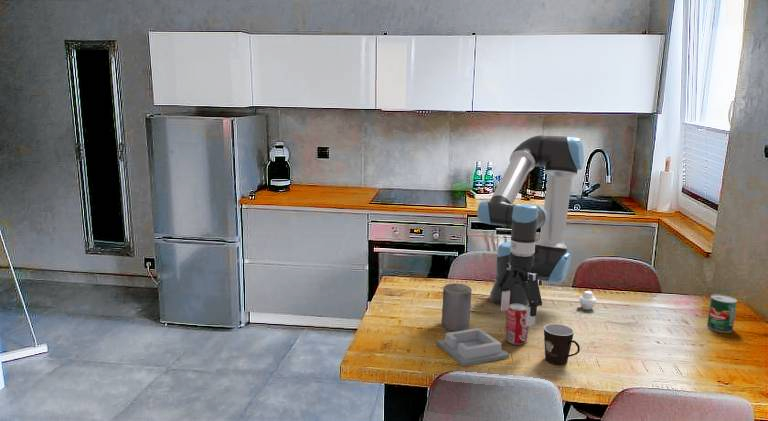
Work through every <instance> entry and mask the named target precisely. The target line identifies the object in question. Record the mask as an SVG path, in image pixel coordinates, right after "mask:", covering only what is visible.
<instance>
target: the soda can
mask: <svg viewBox="0 0 768 421" xmlns="http://www.w3.org/2000/svg"><path fill="white" fill-rule="evenodd" d="M527 306H528V305H523V304H518V303H514V304H510V305H509V308H508V310H506V317H505V318H506V319H505V332H504V335H505V337H504V338H505V340H506V341H507V342H508V343H509V344H512V345H515V346H517V345H519V346H520V345H523V344H525V343H526V342H527V341H528V336H529V335H528V333H529V326H526V319H527Z"/></svg>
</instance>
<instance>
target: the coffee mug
mask: <svg viewBox="0 0 768 421" xmlns="http://www.w3.org/2000/svg"><path fill="white" fill-rule="evenodd" d="M574 333H575V330H574V329H573V328H572V327H570V326H568V325H565V324H560V323H548V324H546V325H544V326H543V336H544V337H543V340H544V359H545V361H546V362H547V363H548V364H550V365H553V366H565V365H567V364H568V361H569V360H568V359H569V357H573V356H574V357H575V356H576V355H578V354H579V353H580V351H581V349H580V348H581V347H580V344H579V343H578V342H577V341H576V340H573V338H574ZM573 343H574V344H575V346H576V348H577V350H576V352H574V353H570V352H571V348H572V344H573Z"/></svg>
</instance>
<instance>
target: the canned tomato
mask: <svg viewBox="0 0 768 421" xmlns="http://www.w3.org/2000/svg"><path fill="white" fill-rule="evenodd" d="M709 300H710V303H709V309H708V314H707V324H706V327H707V328H708V329H710V330H712V331H715V332H719V333H723V334H724V333H726V334H727V333H728V334H729V333H732V332H733V330H734V325H735V318H736V313H737V312H736V311H737V304H738V300H737V299H736V298H735V297H733V296H729V295H725V294H718V293H717V294H711V296H710V299H709Z"/></svg>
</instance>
